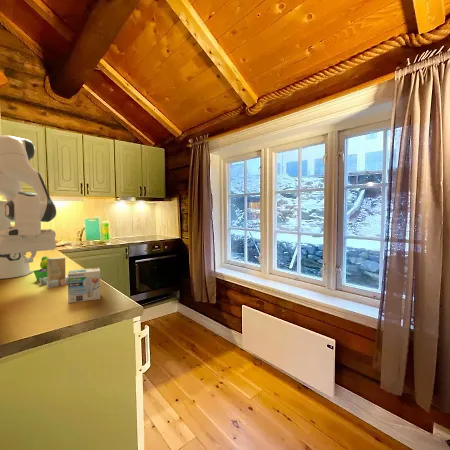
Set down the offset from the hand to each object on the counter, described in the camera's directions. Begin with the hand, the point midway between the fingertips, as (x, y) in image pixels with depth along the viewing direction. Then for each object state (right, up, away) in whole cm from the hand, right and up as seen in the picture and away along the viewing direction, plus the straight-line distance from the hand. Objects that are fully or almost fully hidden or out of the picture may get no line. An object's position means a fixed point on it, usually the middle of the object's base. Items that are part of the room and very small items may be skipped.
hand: (28, 262), depth 110 cm
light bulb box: (+31, -12, -13) cm, 36 cm away
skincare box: (+7, -11, +7) cm, 15 cm away
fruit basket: (-3, -11, +17) cm, 21 cm away
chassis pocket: (+7, -11, +10) cm, 16 cm away
